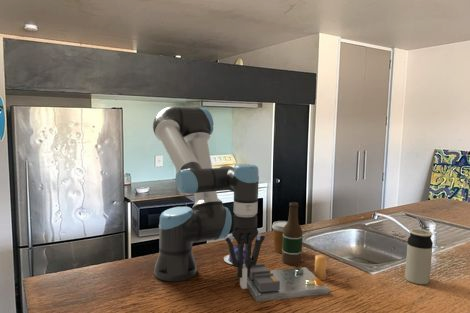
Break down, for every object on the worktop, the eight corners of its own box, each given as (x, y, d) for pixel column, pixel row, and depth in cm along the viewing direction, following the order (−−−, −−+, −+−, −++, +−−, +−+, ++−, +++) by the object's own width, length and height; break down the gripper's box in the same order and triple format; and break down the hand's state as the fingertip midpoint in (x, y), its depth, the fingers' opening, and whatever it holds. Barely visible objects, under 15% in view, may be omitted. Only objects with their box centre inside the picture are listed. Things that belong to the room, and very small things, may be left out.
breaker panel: (256, 301, 115) (256, 292, 114) (240, 278, 131) (241, 270, 131) (328, 293, 121) (328, 284, 121) (305, 272, 138) (305, 264, 137)
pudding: (230, 268, 140) (230, 255, 139) (219, 257, 151) (219, 244, 150) (258, 264, 145) (259, 251, 144) (245, 253, 156) (246, 241, 155)
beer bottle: (302, 259, 150) (305, 201, 147) (299, 267, 142) (302, 206, 140) (283, 257, 152) (286, 199, 150) (279, 263, 145) (282, 203, 142)
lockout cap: (317, 280, 131) (318, 259, 130) (312, 276, 134) (313, 254, 134) (327, 279, 132) (328, 258, 131) (322, 275, 136) (323, 254, 135)
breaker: (252, 280, 124) (252, 272, 124) (246, 272, 130) (246, 264, 130) (270, 278, 126) (270, 270, 126) (263, 271, 132) (264, 263, 132)
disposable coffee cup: (292, 247, 163) (293, 221, 162) (293, 255, 154) (295, 227, 153) (270, 246, 164) (272, 220, 163) (270, 254, 155) (272, 226, 154)
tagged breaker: (260, 292, 116) (260, 283, 116) (254, 283, 122) (254, 274, 122) (279, 290, 118) (279, 281, 117) (272, 281, 124) (272, 273, 124)
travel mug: (419, 286, 128) (423, 236, 126) (399, 277, 135) (403, 229, 133) (434, 282, 132) (438, 233, 130) (414, 274, 139) (418, 227, 137)
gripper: (227, 218, 110) (226, 294, 112) (269, 216, 113) (266, 290, 116) (222, 212, 117) (220, 283, 120) (261, 210, 120) (259, 279, 123)
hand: (243, 286), depth 118 cm, fingers closed
